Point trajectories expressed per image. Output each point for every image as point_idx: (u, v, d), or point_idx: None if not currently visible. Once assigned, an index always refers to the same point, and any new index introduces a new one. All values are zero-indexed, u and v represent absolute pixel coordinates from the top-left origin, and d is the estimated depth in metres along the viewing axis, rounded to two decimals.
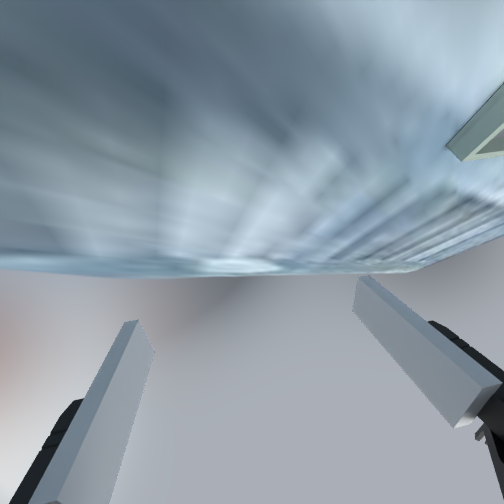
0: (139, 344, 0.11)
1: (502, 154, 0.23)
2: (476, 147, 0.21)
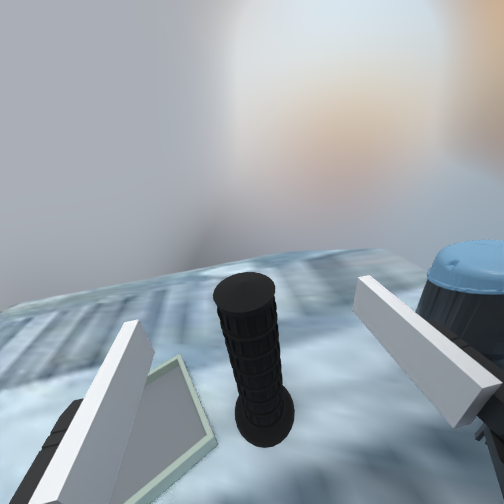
0: (139, 344, 0.11)
1: (155, 369, 0.40)
2: (182, 359, 0.41)
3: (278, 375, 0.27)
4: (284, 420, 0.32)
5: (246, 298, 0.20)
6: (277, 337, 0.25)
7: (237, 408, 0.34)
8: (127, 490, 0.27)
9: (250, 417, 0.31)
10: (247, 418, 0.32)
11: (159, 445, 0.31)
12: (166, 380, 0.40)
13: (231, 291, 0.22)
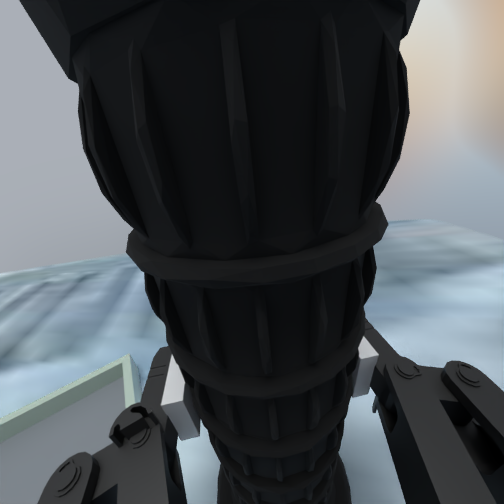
0: None
1: (78, 380, 0.22)
2: (130, 364, 0.23)
3: (340, 428, 0.09)
4: None
5: None
6: None
7: (223, 475, 0.16)
8: None
9: None
10: None
11: None
12: (97, 402, 0.22)
13: None
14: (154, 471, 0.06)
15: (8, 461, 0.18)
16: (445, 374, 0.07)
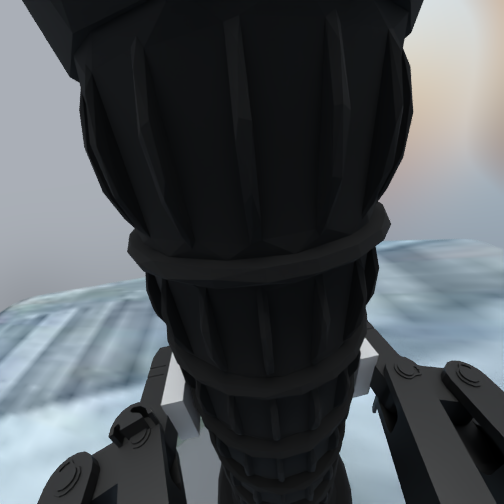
0: None
1: None
2: None
3: (341, 428, 0.09)
4: None
5: None
6: None
7: (223, 475, 0.16)
8: None
9: None
10: None
11: None
12: None
13: None
14: (154, 471, 0.06)
15: (195, 460, 0.23)
16: (445, 374, 0.07)
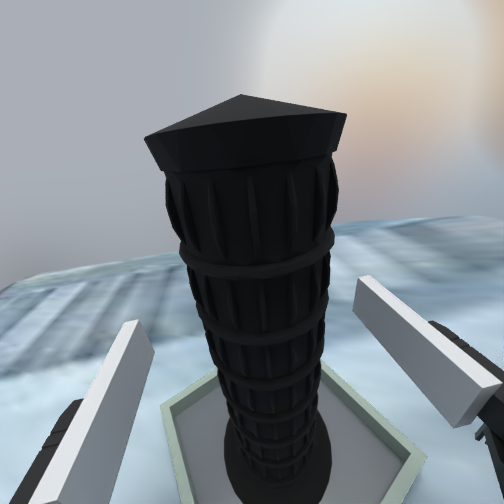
0: (139, 344, 0.11)
1: None
2: None
3: (316, 383, 0.12)
4: (315, 464, 0.17)
5: (253, 105, 0.05)
6: (325, 290, 0.10)
7: (228, 436, 0.19)
8: None
9: (252, 462, 0.16)
10: (246, 460, 0.17)
11: None
12: None
13: (202, 111, 0.07)
14: None
15: None
16: None
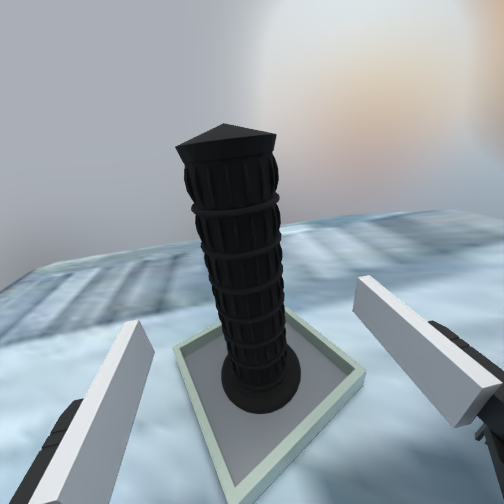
0: (139, 344, 0.11)
1: None
2: None
3: (280, 304, 0.19)
4: (287, 379, 0.23)
5: (227, 131, 0.12)
6: (279, 236, 0.16)
7: (224, 367, 0.26)
8: (265, 433, 0.20)
9: (240, 372, 0.22)
10: (236, 376, 0.23)
11: None
12: None
13: (204, 133, 0.13)
14: None
15: (226, 348, 0.29)
16: None
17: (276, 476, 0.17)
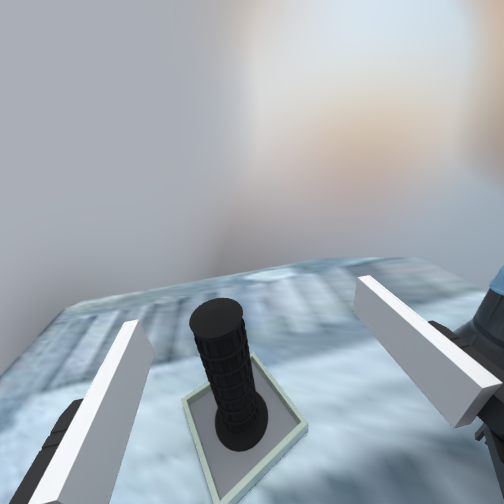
0: (139, 344, 0.11)
1: None
2: (257, 357, 0.46)
3: (249, 388, 0.31)
4: (258, 427, 0.36)
5: (215, 325, 0.24)
6: (247, 355, 0.29)
7: (217, 415, 0.38)
8: (240, 465, 0.32)
9: (226, 424, 0.34)
10: (224, 425, 0.36)
11: None
12: None
13: (204, 317, 0.25)
14: None
15: None
16: None
17: (245, 493, 0.30)
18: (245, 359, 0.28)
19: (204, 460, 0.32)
